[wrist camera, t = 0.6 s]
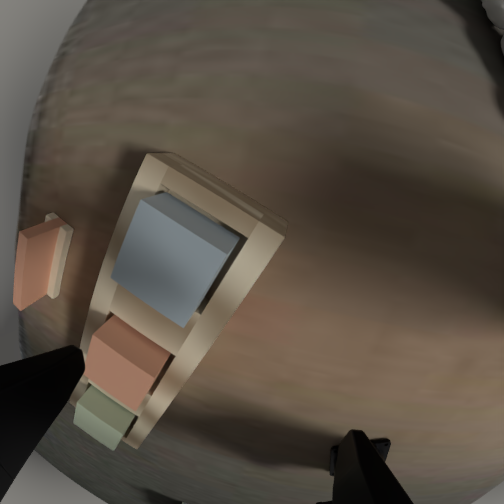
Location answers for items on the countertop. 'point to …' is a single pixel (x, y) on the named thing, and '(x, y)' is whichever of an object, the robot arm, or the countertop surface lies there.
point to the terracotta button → (124, 361)
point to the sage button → (102, 417)
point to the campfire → (495, 14)
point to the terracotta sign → (41, 260)
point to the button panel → (215, 301)
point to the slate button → (171, 256)
